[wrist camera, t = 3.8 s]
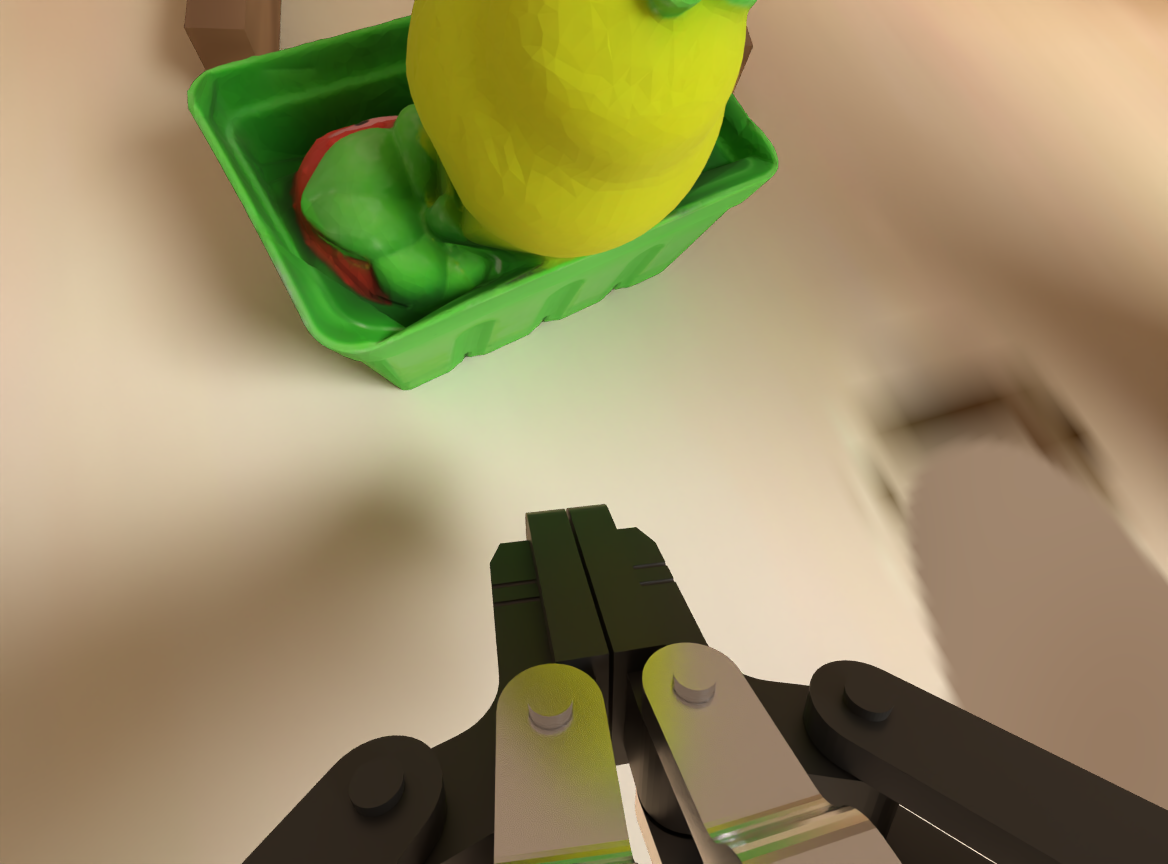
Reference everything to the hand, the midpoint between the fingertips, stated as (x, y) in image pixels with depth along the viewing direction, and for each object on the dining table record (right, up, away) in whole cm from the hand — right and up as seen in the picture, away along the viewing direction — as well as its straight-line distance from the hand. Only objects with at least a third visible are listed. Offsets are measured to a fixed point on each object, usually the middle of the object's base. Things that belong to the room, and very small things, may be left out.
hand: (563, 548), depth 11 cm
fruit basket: (-2, +7, +7) cm, 10 cm away
